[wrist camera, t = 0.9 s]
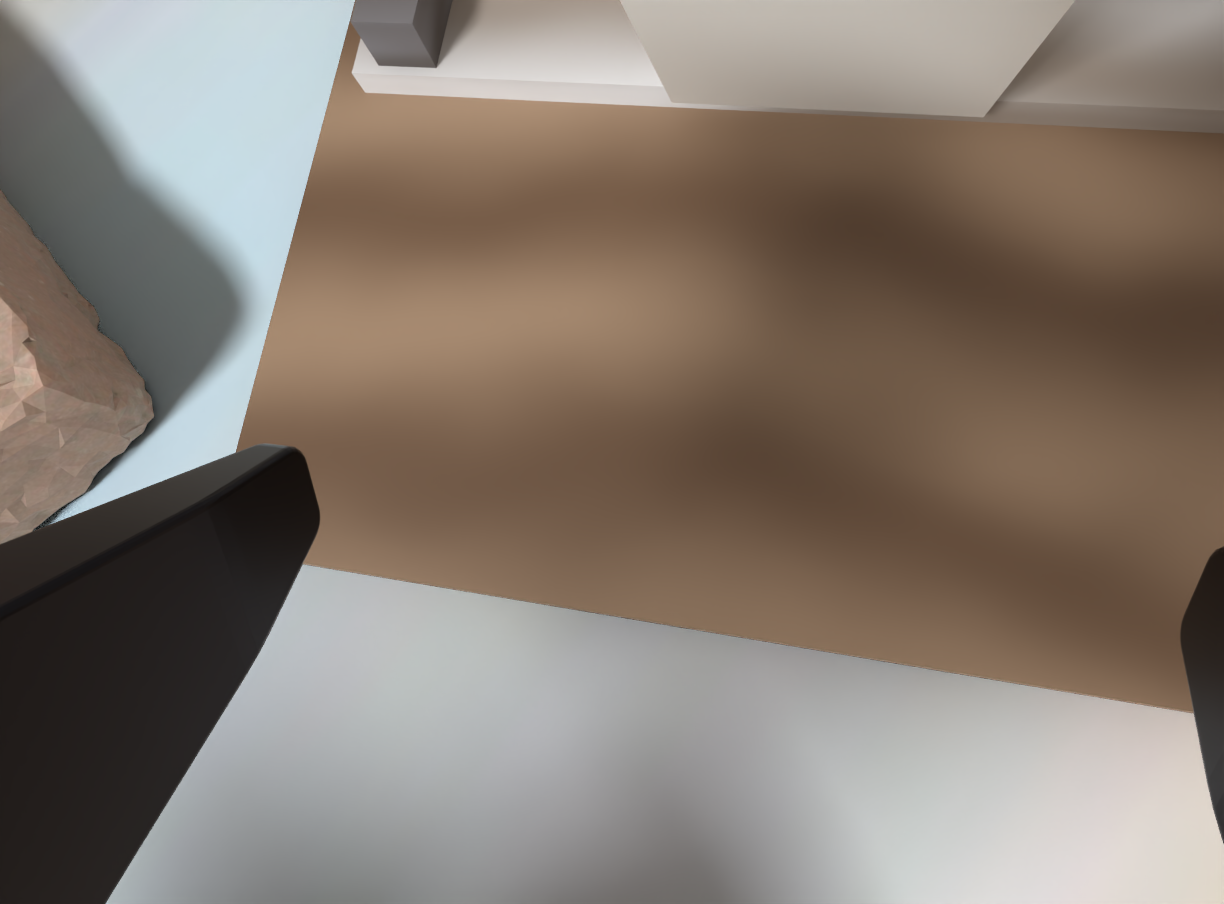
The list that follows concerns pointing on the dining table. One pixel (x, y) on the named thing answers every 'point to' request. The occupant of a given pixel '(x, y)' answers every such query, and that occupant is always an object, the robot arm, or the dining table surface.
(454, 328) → the board
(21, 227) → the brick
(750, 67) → the relay module
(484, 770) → the dining table surface
